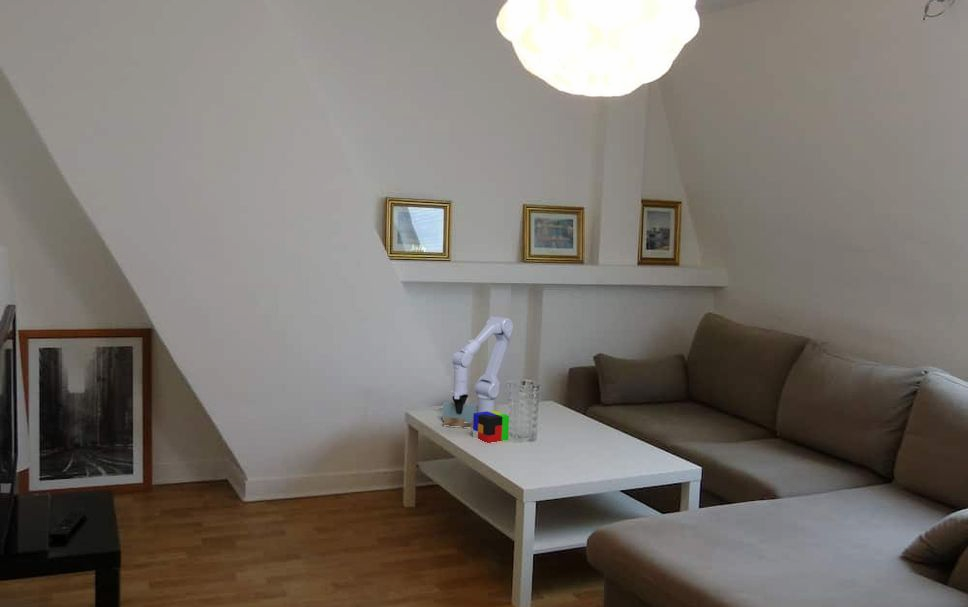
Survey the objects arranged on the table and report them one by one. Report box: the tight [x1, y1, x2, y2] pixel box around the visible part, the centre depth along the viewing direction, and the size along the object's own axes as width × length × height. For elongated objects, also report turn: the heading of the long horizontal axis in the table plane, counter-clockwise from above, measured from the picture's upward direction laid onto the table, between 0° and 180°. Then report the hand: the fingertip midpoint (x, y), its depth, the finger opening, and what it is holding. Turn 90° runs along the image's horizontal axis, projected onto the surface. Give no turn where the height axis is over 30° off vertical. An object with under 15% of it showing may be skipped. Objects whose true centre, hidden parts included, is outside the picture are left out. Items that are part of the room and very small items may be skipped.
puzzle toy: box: [472, 410, 510, 444], centre depth 360 cm, size 10×10×10 cm
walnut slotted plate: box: [443, 417, 473, 428], centre depth 376 cm, size 20×2×4 cm, turn 80°
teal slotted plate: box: [442, 401, 478, 423], centre depth 383 cm, size 14×2×8 cm, turn 80°
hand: (459, 412), depth 383 cm, fingers closed on teal slotted plate, 2 cm apart
